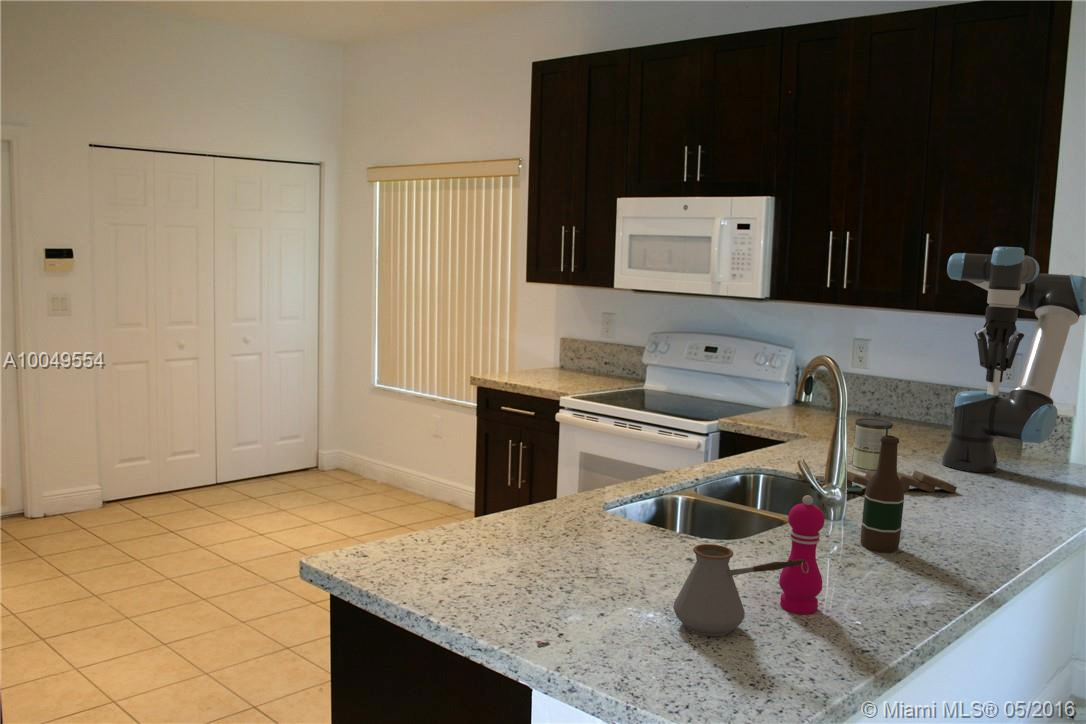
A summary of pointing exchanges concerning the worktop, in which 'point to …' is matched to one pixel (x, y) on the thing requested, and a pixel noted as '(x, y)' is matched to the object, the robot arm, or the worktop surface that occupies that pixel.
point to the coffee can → (869, 443)
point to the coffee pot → (716, 591)
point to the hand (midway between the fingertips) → (992, 394)
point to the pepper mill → (804, 541)
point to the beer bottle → (883, 502)
